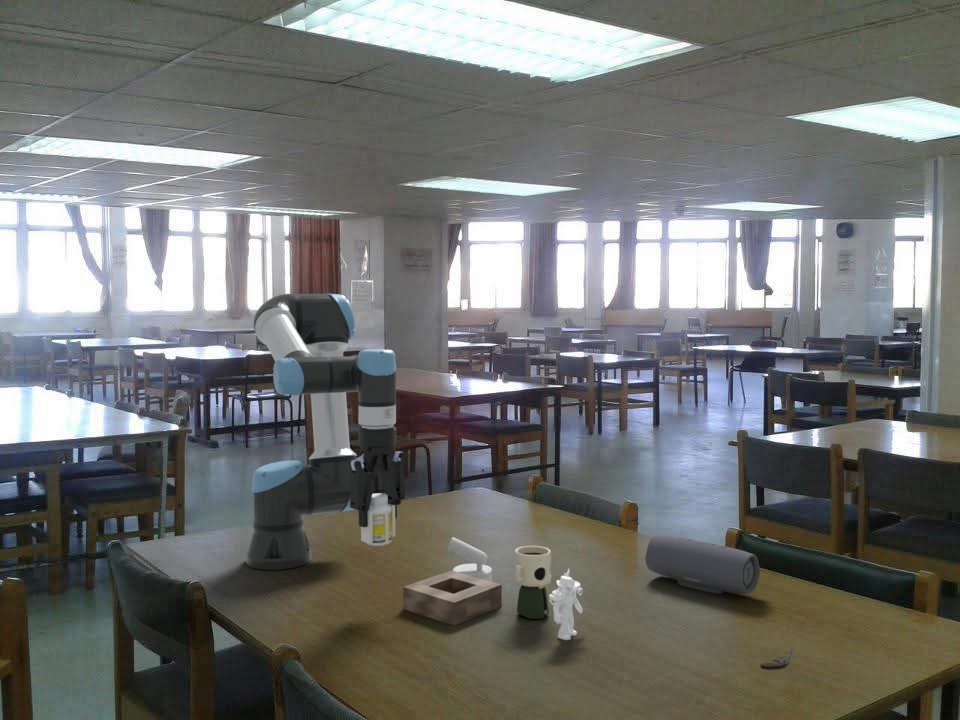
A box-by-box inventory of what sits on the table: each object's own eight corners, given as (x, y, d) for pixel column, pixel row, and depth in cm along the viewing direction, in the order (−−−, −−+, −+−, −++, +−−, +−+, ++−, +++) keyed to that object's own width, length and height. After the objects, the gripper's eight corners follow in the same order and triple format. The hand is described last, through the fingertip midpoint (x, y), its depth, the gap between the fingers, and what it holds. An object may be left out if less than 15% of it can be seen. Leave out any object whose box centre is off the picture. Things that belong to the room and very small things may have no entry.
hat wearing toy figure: (570, 625, 164) (570, 563, 164) (588, 630, 162) (588, 567, 161) (544, 640, 157) (544, 575, 156) (562, 645, 155) (562, 580, 154)
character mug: (531, 628, 163) (532, 560, 163) (501, 619, 168) (501, 553, 167) (563, 611, 172) (563, 547, 171) (533, 604, 176) (533, 541, 175)
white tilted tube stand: (451, 531, 196) (495, 534, 194) (451, 573, 197) (495, 575, 195) (442, 542, 188) (487, 544, 186) (442, 585, 188) (487, 588, 186)
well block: (403, 608, 174) (403, 586, 174) (451, 591, 184) (451, 570, 184) (454, 625, 165) (454, 602, 164) (501, 606, 175) (501, 584, 175)
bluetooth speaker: (760, 594, 182) (761, 547, 181) (740, 605, 175) (741, 556, 175) (666, 571, 197) (666, 528, 197) (643, 581, 191) (644, 536, 190)
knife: (784, 673, 143) (784, 669, 143) (759, 669, 145) (759, 665, 145) (797, 646, 156) (797, 642, 156) (774, 642, 158) (774, 638, 158)
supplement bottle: (380, 537, 180) (380, 490, 180) (397, 542, 177) (396, 495, 176) (359, 542, 177) (359, 495, 176) (376, 548, 173) (375, 499, 172)
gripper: (354, 433, 165) (355, 552, 167) (423, 422, 179) (423, 532, 181) (329, 429, 170) (330, 544, 172) (398, 419, 184) (398, 526, 186)
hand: (378, 538), depth 177 cm, fingers closed on supplement bottle, 5 cm apart
